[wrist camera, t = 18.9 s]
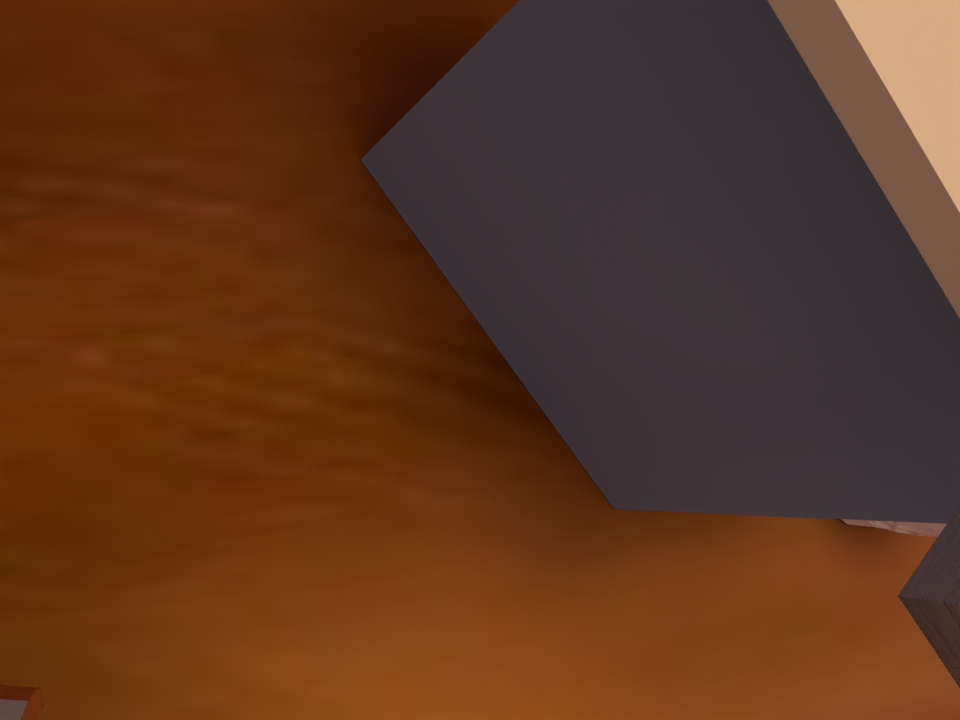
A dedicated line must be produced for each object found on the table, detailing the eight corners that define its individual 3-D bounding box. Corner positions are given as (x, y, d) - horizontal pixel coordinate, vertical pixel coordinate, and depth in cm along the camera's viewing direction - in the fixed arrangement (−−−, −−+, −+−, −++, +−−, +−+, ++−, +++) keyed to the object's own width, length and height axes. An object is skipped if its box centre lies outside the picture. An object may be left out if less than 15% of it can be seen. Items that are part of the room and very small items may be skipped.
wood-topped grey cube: (319, 135, 42) (669, -299, 19) (491, 24, 47) (935, -425, 24) (623, 551, 47) (1206, 617, 23) (750, 409, 52) (1333, 348, 28)
